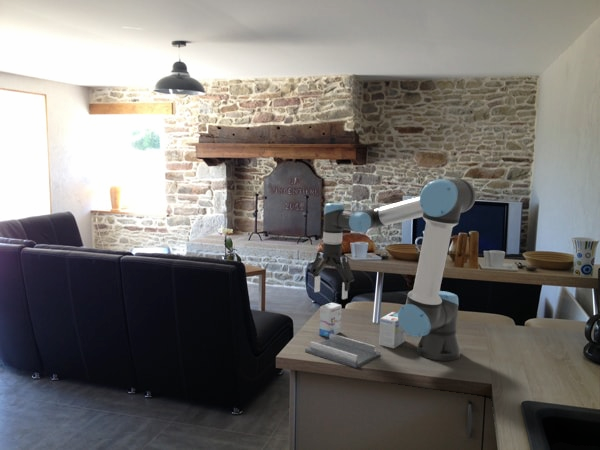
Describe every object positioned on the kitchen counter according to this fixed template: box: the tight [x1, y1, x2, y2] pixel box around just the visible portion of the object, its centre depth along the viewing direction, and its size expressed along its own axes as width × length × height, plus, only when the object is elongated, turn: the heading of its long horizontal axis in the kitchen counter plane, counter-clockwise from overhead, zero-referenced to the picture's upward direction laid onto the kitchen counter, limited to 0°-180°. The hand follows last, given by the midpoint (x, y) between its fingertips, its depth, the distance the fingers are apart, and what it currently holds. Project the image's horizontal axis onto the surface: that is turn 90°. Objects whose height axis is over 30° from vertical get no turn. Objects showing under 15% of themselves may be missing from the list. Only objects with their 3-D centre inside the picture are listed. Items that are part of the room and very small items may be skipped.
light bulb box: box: [378, 311, 407, 349], centre depth 202 cm, size 11×7×11 cm, turn 145°
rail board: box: [304, 333, 381, 369], centre depth 191 cm, size 22×16×4 cm
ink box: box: [318, 302, 342, 338], centre depth 211 cm, size 9×5×12 cm, turn 143°
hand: (330, 295), depth 210 cm, fingers open, 13 cm apart
